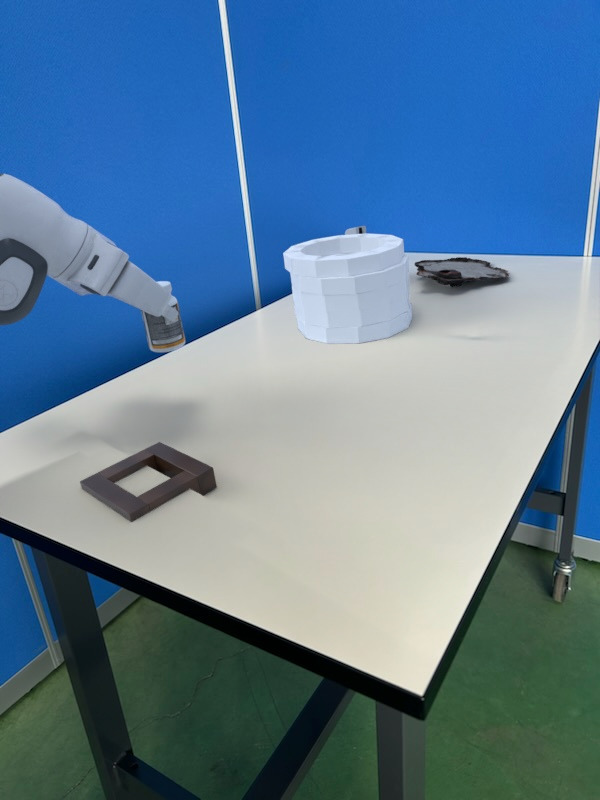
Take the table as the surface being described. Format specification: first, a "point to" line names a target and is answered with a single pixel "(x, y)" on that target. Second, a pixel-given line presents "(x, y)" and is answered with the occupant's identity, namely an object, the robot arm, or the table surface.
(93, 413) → the table surface
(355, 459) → the table surface
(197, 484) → the frame
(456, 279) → the scrap metal
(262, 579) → the table surface
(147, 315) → the pill bottle
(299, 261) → the container
